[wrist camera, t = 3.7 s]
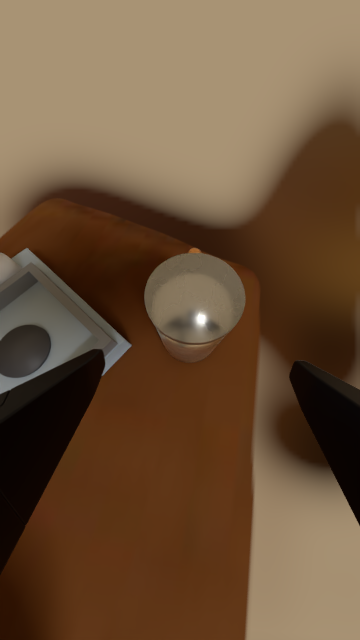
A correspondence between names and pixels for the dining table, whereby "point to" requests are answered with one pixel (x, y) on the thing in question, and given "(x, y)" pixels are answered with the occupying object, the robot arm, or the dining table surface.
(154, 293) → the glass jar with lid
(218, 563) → the dining table surface
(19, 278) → the square tray with knobs
